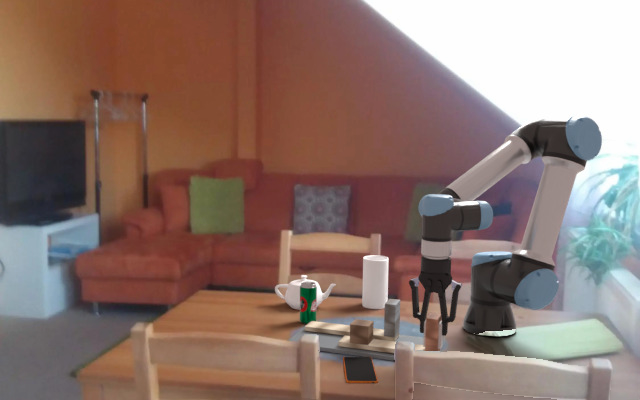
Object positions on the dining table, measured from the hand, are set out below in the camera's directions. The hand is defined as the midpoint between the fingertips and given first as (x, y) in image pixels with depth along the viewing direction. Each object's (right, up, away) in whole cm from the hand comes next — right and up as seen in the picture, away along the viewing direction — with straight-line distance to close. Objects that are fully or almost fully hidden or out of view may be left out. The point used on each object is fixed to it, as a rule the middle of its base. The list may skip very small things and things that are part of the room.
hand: (433, 346), depth 175 cm
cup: (-11, +3, +50) cm, 51 cm away
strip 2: (-11, -2, +4) cm, 12 cm away
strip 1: (-20, 0, +17) cm, 26 cm away
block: (-18, 0, +6) cm, 19 cm away
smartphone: (-19, -5, -7) cm, 21 cm away
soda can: (-33, 0, +31) cm, 45 cm away
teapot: (-34, +3, +48) cm, 59 cm away
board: (-17, -2, +11) cm, 20 cm away
